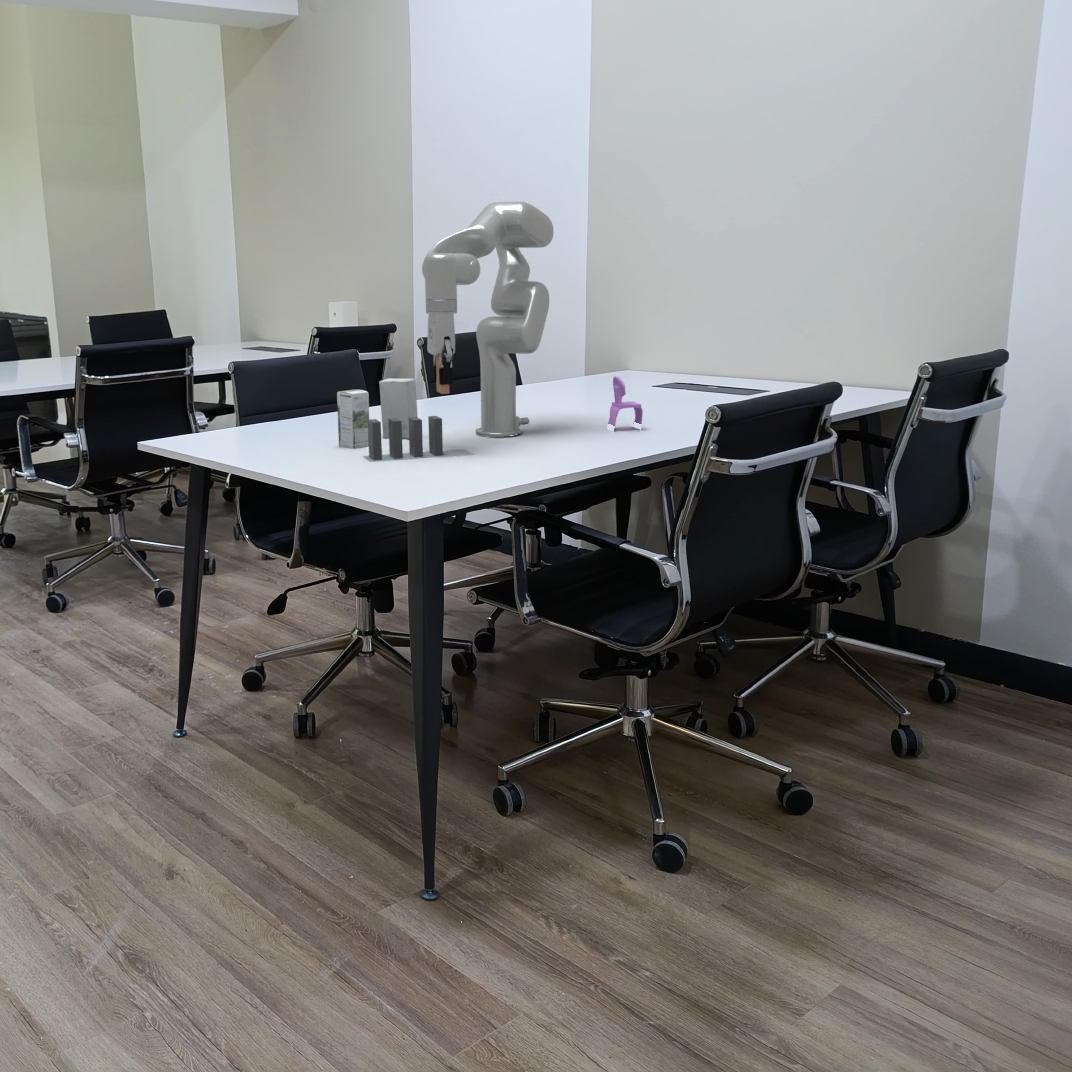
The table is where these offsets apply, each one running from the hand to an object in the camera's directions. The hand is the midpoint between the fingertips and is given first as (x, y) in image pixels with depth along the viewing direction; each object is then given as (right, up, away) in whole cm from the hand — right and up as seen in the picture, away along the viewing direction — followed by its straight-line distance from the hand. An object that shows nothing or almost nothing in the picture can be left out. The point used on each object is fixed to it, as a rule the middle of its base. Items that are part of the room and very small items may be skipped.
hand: (443, 382), depth 257 cm
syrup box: (-24, -15, +11) cm, 30 cm away
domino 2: (-11, -18, -4) cm, 22 cm away
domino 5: (0, -2, +1) cm, 3 cm away
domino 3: (-6, -18, -2) cm, 19 cm away
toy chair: (+48, -8, +40) cm, 63 cm away
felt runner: (-6, -18, -1) cm, 19 cm away
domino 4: (-2, -18, 0) cm, 18 cm away
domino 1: (-16, -19, -5) cm, 25 cm away
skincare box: (-14, -11, +27) cm, 32 cm away
